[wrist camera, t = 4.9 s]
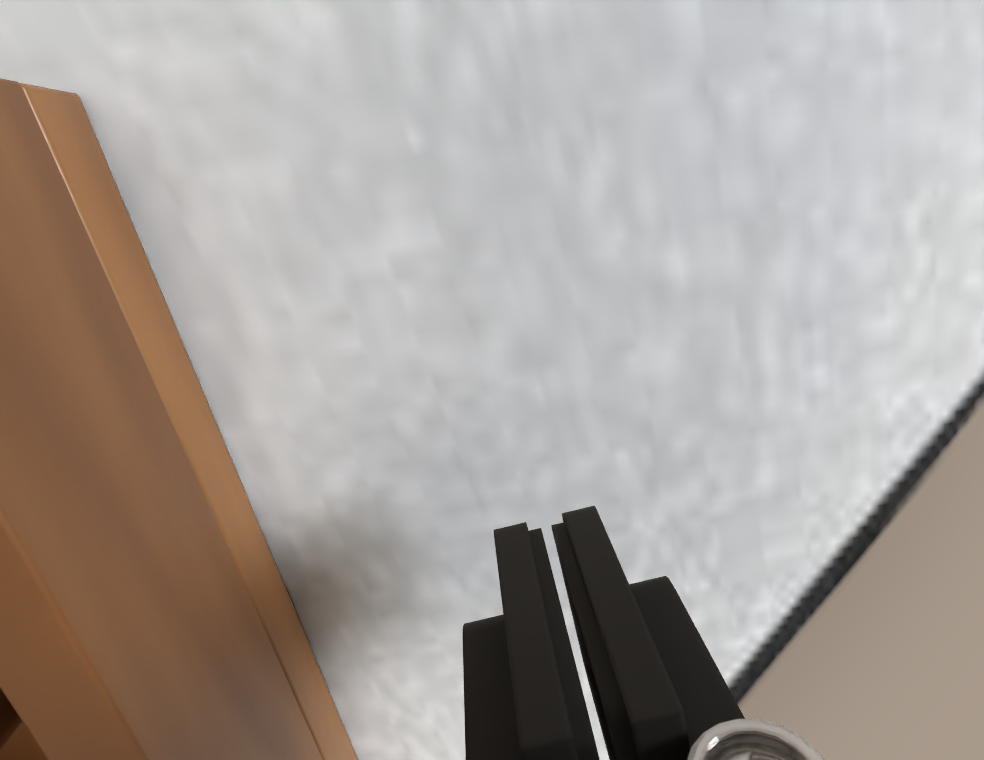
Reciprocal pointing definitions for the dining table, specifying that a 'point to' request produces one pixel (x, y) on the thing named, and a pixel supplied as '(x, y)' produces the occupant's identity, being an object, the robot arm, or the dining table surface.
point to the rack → (123, 496)
